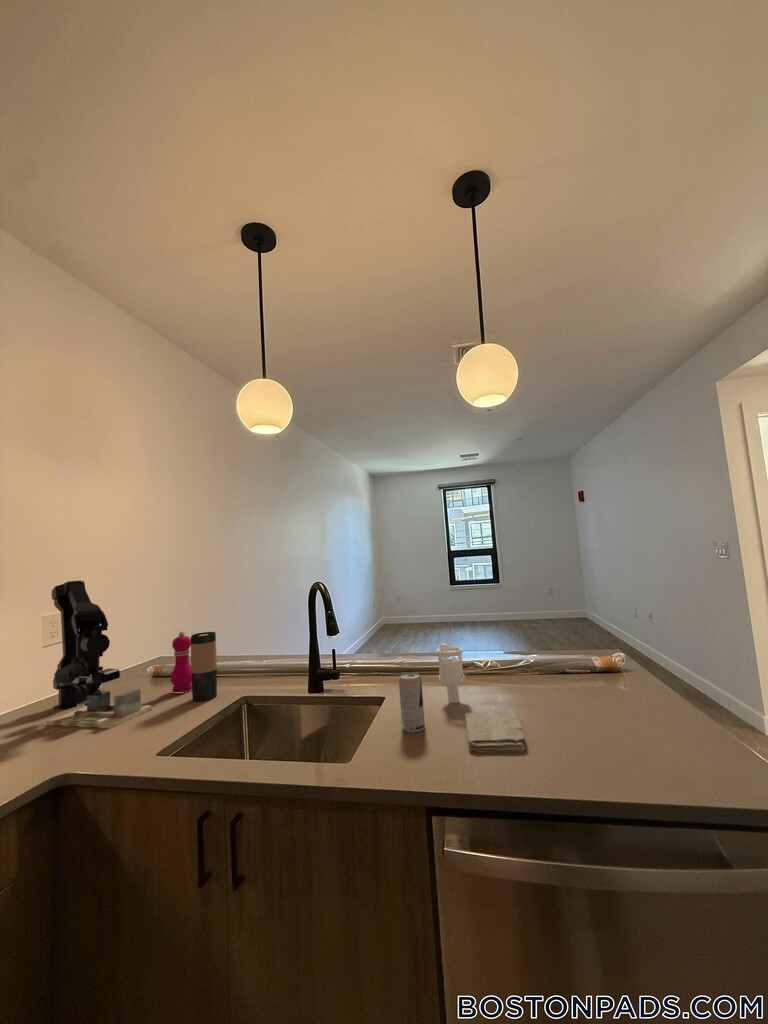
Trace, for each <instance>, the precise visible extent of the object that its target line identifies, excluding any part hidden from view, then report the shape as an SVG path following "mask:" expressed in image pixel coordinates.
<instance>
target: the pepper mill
mask: <svg viewBox="0 0 768 1024" xmlns="http://www.w3.org/2000/svg"><path fill="white" fill-rule="evenodd" d="M185 633H186V632H185V631H183V630H182V631H179V632H178V636H177V637H175V638H174V639H173V640H172V643H171V645H172V646H171V647H172V648H173V650H174V651H173V653H174V655H173V656H174V657H175V661H174V662H175V664H174V668H173V671H172V673H171V675H170V683H171V684H172V685H173V687H172V693H173V692H185V691H189V690H191V689H192V679H191V662H190V659H189V656H190V655H191V637H189V636H187V635H185ZM191 691H192V690H191ZM189 692H190V691H189Z"/></svg>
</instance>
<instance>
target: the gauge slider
mask: <svg viewBox="0 0 768 1024" xmlns="http://www.w3.org/2000/svg"><path fill="white" fill-rule="evenodd" d="M86 703H87V711H95V712H105V711H107V710H110V704H111V690H110V691H109V690H104V689H103V688H102V689H101V688H99V689H98V690H95V691H94V693H92V694H90V695H87V701H84V702H81V703H79V704H77V705H76V706H77V707H81V706H83V705H85V704H86Z"/></svg>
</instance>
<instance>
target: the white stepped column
mask: <svg viewBox="0 0 768 1024" xmlns="http://www.w3.org/2000/svg"><path fill="white" fill-rule="evenodd" d="M436 655H437V658H438V659H437V661H438V671H439V672H438V674H439V676H438V682H439V683H440V684H444V685H446V690H447V691H446V692H447V702H448V703H449V704H458V703H459V702H460V695H459V694H460V693H459V684H462V683H464V682H466V678H465V677H466V676H465V674H464V669H463V658H462V655H463V648H462V647H460V646H450V645H449V644H448V643H440V647H439V648H436ZM456 656H457V657H456ZM451 657H452V658H451Z"/></svg>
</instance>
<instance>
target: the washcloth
mask: <svg viewBox="0 0 768 1024" xmlns="http://www.w3.org/2000/svg"><path fill="white" fill-rule="evenodd" d="M464 723H465V729H466V730H465V731H466V741H467V744H468V746H467V747H468V752H469V753H472V752H477V753H478V752H479V753H521V752H525V751H526V747H525V744H524V741H523V740H525V736H524V732H523V727H522V726H521V724H520V722H519V719H518V717H516V713H515V712H514V711H513V710H497V711H491V712H490V711H489V712H485V711H481V712H480V711H476V712H474V711H473V712H465V713H464Z"/></svg>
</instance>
